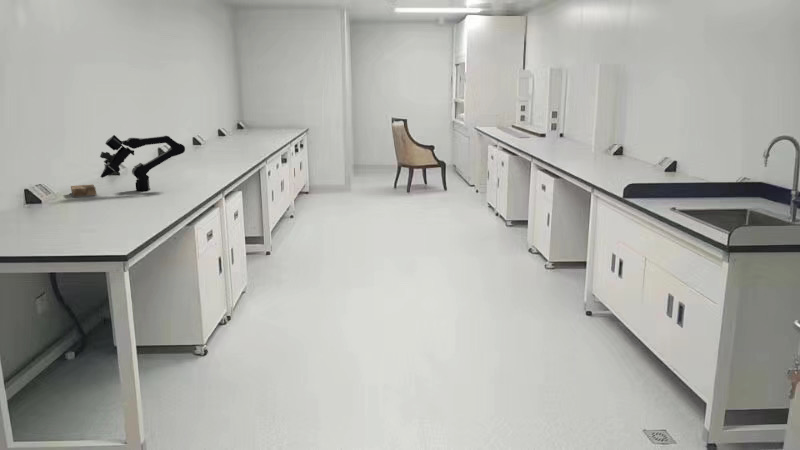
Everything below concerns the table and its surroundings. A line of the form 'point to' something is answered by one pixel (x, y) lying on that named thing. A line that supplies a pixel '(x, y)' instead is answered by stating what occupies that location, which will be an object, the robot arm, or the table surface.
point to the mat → (80, 196)
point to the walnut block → (83, 190)
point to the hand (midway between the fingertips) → (101, 177)
